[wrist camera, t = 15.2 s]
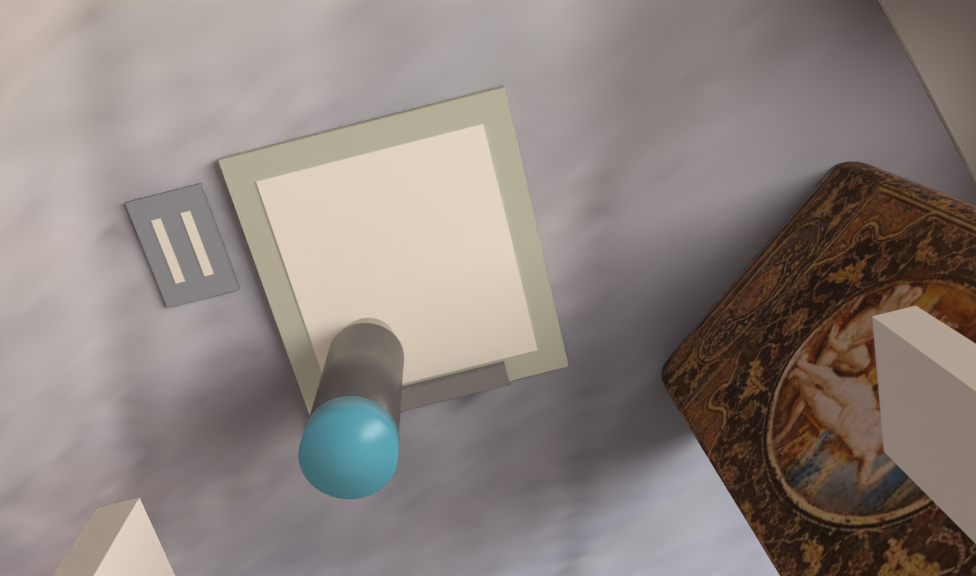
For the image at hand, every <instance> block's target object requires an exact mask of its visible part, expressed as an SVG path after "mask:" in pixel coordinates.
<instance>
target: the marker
mask: <svg viewBox="0 0 976 576" xmlns="http://www.w3.org/2000/svg"><path fill="white" fill-rule="evenodd" d="M403 368H404V352H403V348H402V345H401V343H400V341H399V340H398V338H397V337H396V336H395V334H394V332H393V330H392V329H391V328H390V327H389V326H388V325H387V324H386V323H385V322H383V321H381V320H379V319H375V318H362V319H358V320H356V321H354V322H352V323H351V324H350V325H349V326H348V327H346V328H345V329H343V330H342V331H340V332H339V333H338V334H337V335H336V336H335V338H334V339H333V341H332V343H331V345H330V348H329V351H328V355H327V358H326V361H325V365H324V368H323V372H322V375H321V379H320V382H319V386H318V389H317V392H316V396H315V399H314V403H313V406H312V410H311V413H310V417H309V419H308V421H307V423H306V426H305V430H304V433H303V436H302V440H301V443H300V447H299V463H300V467H301V470H302V472H303V474H304V475H305V477H306V479H307V480H308V481H309V482H310V483H311V484H312V485H313V486H314V487H315V488H317V489H318V490H319V491H321V492H323V493H325V494H327V495H330V496H333V497H336V498H342V499H356V498H362V497H365V496H369V495H371V494H373V493H375V492H377V491H379V490H380V489H381V488H383V487H384V486H385V485H386V484H387V483H388V482H389V481H390V479H391V478H392V476H393V474H394V473H395V470H396V467H397V463H398V451H399V422H400V408H401V395H402V382H403Z"/></svg>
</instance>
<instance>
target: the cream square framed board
mask: <svg viewBox="0 0 976 576" xmlns="http://www.w3.org/2000/svg"><path fill="white" fill-rule="evenodd" d="M218 161H219V164H220V167H221V170H222V173H223V175H224V178H225V181H226V184H227V187H228V189H229V192H230V195H231V198H232V200H233V203H234V206H235V209H236V212H237V214H238V217H239V220H240V223H241V226H242V228H243V231H244V234H245V237H246V240H247V242H248V245H249V248H250V251H251V254H252V256H253V259H254V262H255V265H256V268H257V270H258V273H259V276H260V279H261V282H262V284H263V287H264V290H265V293H266V295H267V298H268V301H269V304H270V307H271V309H272V312H273V315H274V318H275V321H276V323H277V326H278V329H279V332H280V335H281V337H282V340H283V343H284V346H285V349H286V351H287V354H288V357H289V360H290V363H291V365H292V368H293V371H294V374H295V376H296V379H297V382H298V385H299V388H300V390H301V393H302V396H303V399H304V402H305V404H306V407H307V410H308V413H309V416H310V413H311V410H312V406H313V403H314V399H315V396H316V392H317V389H318V386H319V382H320V379H321V375H322V372H323V368H324V365H325V361H326V358H327V355H328V351H329V348H330V345H331V343H332V341H333V339H334V338H335V336H336V335H337V334H338V333H339V332H340V331H342V330H343V329H345V328H346V327H348V326H349V325H350V324H351V323H352V322H354V321H356V320H358V319H362V318H375V319H379V320H381V321H383V322H385V323H386V324H387V325H388V326H389V327H390V328H391V329H392V330H393V332H394V334H395V336H396V337H397V338H398V340H399V341H400V343H401V345H402V348H403V352H404V368H403V382H402V395H401V408H400V411H404V410H408V409H412V408H416V407H420V406H424V405H428V404H432V403H437V402H441V401H445V400H449V399H453V398H457V397H461V396H465V395H469V394H473V393H477V392H481V391H485V390H489V389H493V388H497V387H501V386H505V385H509V384H510V383H509V381H512V380H516V379H520V378H524V377H528V376H532V375H536V374H540V373H544V372H548V371H552V370H556V369H561V368H565V367H569V365H568V360H567V356H566V352H565V347H564V343H563V339H562V334H561V330H560V326H559V321H558V317H557V312H556V308H555V304H554V299H553V295H552V291H551V286H550V282H549V278H548V273H547V269H546V265H545V260H544V256H543V251H542V247H541V243H540V238H539V234H538V230H537V225H536V221H535V217H534V212H533V208H532V204H531V199H530V195H529V190H528V186H527V182H526V177H525V173H524V169H523V164H522V160H521V156H520V151H519V147H518V143H517V138H516V134H515V129H514V125H513V121H512V116H511V112H510V108H509V103H508V99H507V95H506V90H505V87H504V86H500V87H496V88H492V89H488V90H485V91H481V92H477V93H473V94H469V95H465V96H461V97H457V98H453V99H449V100H445V101H441V102H437V103H434V104H430V105H426V106H422V107H418V108H414V109H410V110H406V111H402V112H398V113H394V114H390V115H387V116H383V117H379V118H375V119H371V120H367V121H363V122H359V123H355V124H351V125H347V126H343V127H339V128H336V129H332V130H328V131H324V132H320V133H316V134H312V135H308V136H304V137H300V138H296V139H292V140H289V141H285V142H281V143H277V144H273V145H269V146H265V147H261V148H257V149H253V150H249V151H245V152H242V153H238V154H234V155H230V156H226V157H222V158H221V159H219V160H218Z"/></svg>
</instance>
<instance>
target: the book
mask: <svg viewBox="0 0 976 576" xmlns="http://www.w3.org/2000/svg"><path fill="white" fill-rule="evenodd" d="M912 306H917V307H919V308H920V309H922V310H923V311H925V312H927V313H928V314H930V315H931V316H933V317H934V318H936V319H938V320H939V321H941V322H942V323H944V324H945V325H947V326H949V327H950V328H952V329H953V330H955V331H956V332H958V333H960V334H961V335H963V336H964V337H966V338H967V339H969V340H971V341H972V342H974V343H975V344H976V206H974V205H972V204H969V203H967V202H964V201H961V200H959V199H956V198H953V197H951V196H948V195H946V194H943V193H940V192H938V191H935V190H933V189H930V188H927V187H925V186H922V185H920V184H917V183H914V182H912V181H909V180H906V179H904V178H901V177H899V176H896V175H893V174H891V173H888V172H886V171H883V170H880V169H878V168H875V167H872V166H870V165H867V164H864V163H860V162H844V163H840V164H837V165H835V166H834V168H833V169H832V170H831V171H830V172H829V173H828V175H827V176H826V177H825V178H824V179H823V180H822V181H821V183H820V184H819V185H818V186H817V187H816V188H815V190H814V191H813V192H812V193H811V194H810V195H809V196H808V198H807V199H806V200H805V201H804V202H803V203H802V205H801V206H800V207H799V208H798V209H797V210H796V211H795V213H794V214H793V215H792V216H791V217H790V218H789V220H788V221H787V222H786V223H785V224H784V225H783V226H782V228H781V229H780V230H779V231H778V232H777V233H776V235H775V236H774V237H773V238H772V239H771V240H770V241H769V243H768V244H767V245H766V246H765V247H764V248H763V250H762V251H761V252H760V253H759V254H758V255H757V256H756V258H755V259H754V260H753V261H752V262H751V263H750V265H749V266H748V267H747V268H746V269H745V270H744V271H743V273H742V274H741V275H740V276H739V277H738V278H737V280H736V281H735V282H734V283H733V284H732V285H731V286H730V288H729V289H728V290H727V291H726V292H725V293H724V294H723V296H722V297H721V298H720V299H719V300H718V301H717V303H716V304H715V305H714V306H713V307H712V308H711V309H710V311H709V312H708V313H707V314H706V315H705V316H704V318H703V319H702V320H701V321H700V322H699V323H698V325H697V326H696V327H695V328H694V329H693V331H692V332H691V333H690V334H689V335H688V337H687V338H686V339H685V340H684V341H683V343H682V344H681V345H680V346H679V348H678V349H677V350H676V351H675V352H674V354H673V355H672V356H671V357H670V358H669V360H668V361H667V362H666V364H665V365H664V367H663V370H662V380H663V382H664V386H665V388H666V390H667V391H668V393H669V395H670V397H671V398H672V400H673V402H674V403H675V405H676V406H677V408H678V410H679V411H680V413H681V415H682V416H683V418H684V420H685V421H686V423H687V424H688V426H689V428H690V429H691V431H692V433H693V434H694V436H695V437H696V439H697V441H698V442H699V444H700V446H701V447H702V449H703V451H704V452H705V454H706V455H707V457H708V459H709V460H710V462H711V464H712V465H713V467H714V469H715V470H716V472H717V473H718V475H719V477H720V478H721V480H722V482H723V483H724V485H725V486H726V488H727V490H728V491H729V493H730V495H731V496H732V498H733V500H734V501H735V503H736V504H737V506H738V508H739V509H740V511H741V513H742V514H743V516H744V518H745V519H746V521H747V522H748V524H749V526H750V527H751V529H752V531H753V532H754V534H755V535H756V537H757V539H758V540H759V542H760V544H761V545H762V547H763V549H764V550H765V552H766V553H767V555H768V557H769V558H770V560H771V562H772V563H773V565H774V567H775V568H776V570H777V571H778V573H779V575H780V576H976V544H975V543H974V542H973V541H972V540H971V539H970V538H969V537H968V536H967V535H966V534H965V533H964V532H963V531H962V529H961V528H960V527H959V526H958V525H957V524H956V523H955V522H954V521H953V520H952V519H951V518H950V517H949V516H948V515H947V514H946V513H945V512H944V511H943V510H942V509H941V508H940V507H939V506H938V505H937V504H936V503H935V502H934V501H933V500H932V499H931V498H930V497H929V496H928V495H927V494H926V493H925V492H924V491H923V490H922V489H921V488H920V487H919V486H918V485H917V484H916V483H915V482H914V481H913V480H912V479H911V478H910V477H909V476H908V475H907V474H906V473H905V472H904V471H903V470H902V469H901V468H900V467H899V466H898V465H897V464H896V463H895V462H894V461H893V460H892V459H891V458H890V457H889V456H888V455H887V454H886V453H885V452H884V447H883V436H882V424H881V413H880V401H879V389H878V378H877V366H876V355H875V343H874V332H873V320H872V316H876V315H880V314H884V313H888V312H892V311H896V310H900V309H904V308H908V307H912Z"/></svg>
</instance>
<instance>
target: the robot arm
mask: <svg viewBox="0 0 976 576" xmlns="http://www.w3.org/2000/svg"><path fill="white" fill-rule="evenodd" d="M872 320H873V332H874V343H875V355H876V366H877V378H878V389H879V401H880V413H881V424H882V436H883V447H884V452H885V453H886V454H887V455H888V456H889V457H890V458H891V459H892V460H893V461H894V462H895V463H896V464H897V465H898V466H899V467H900V468H901V469H902V470H903V471H904V472H905V473H906V474H907V475H908V476H909V477H910V478H911V479H912V480H913V481H914V482H915V483H916V484H917V485H918V486H919V487H920V488H921V489H922V490H923V491H924V492H925V493H926V494H927V495H928V496H929V497H930V498H931V499H932V500H933V501H934V502H935V503H936V504H937V505H938V506H939V507H940V508H941V509H942V510H943V511H944V512H945V513H946V514H947V515H948V516H949V517H950V518H951V519H952V520H953V521H954V522H955V523H956V524H957V525H958V526H959V527H960V528H961V529H962V531H963V532H964V533H965V534H966V535H967V536H968V537H969V538H970V539H971V540H972V541H973V542H974V543H975V544H976V344H975V343H974V342H972V341H971V340H969V339H967V338H966V337H964V336H963V335H961V334H960V333H958V332H956V331H955V330H953V329H952V328H950V327H949V326H947V325H945V324H944V323H942V322H941V321H939V320H938V319H936V318H934V317H933V316H931V315H930V314H928V313H927V312H925V311H923V310H922V309H920V308H919V307H917V306H912V307H908V308H904V309H900V310H896V311H892V312H888V313H884V314H880V315H876V316H872ZM53 576H175V575H174V572H173V570H172V568H171V566H170V564H169V561H168V559H167V557H166V555H165V553H164V551H163V548H162V546H161V544H160V542H159V540H158V537H157V535H156V533H155V531H154V529H153V526H152V524H151V522H150V520H149V518H148V515H147V513H146V511H145V509H144V507H143V504H142V502H141V500H140V498H135V499H131V500H127V501H123V502H119V503H115V504H111V505H107V506H103V507H99V508H97V509H96V511H95V512H94V514H93V515H92V517H91V518H90V520H89V521H88V523H87V524H86V526H85V527H84V529H83V530H82V532H81V534H80V535H79V537H78V538H77V540H76V541H75V543H74V544H73V546H72V547H71V549H70V550H69V552H68V553H67V555H66V556H65V558H64V560H63V561H62V563H61V564H60V566H59V567H58V569H57V570H56V572H55V573H54V575H53Z"/></svg>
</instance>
